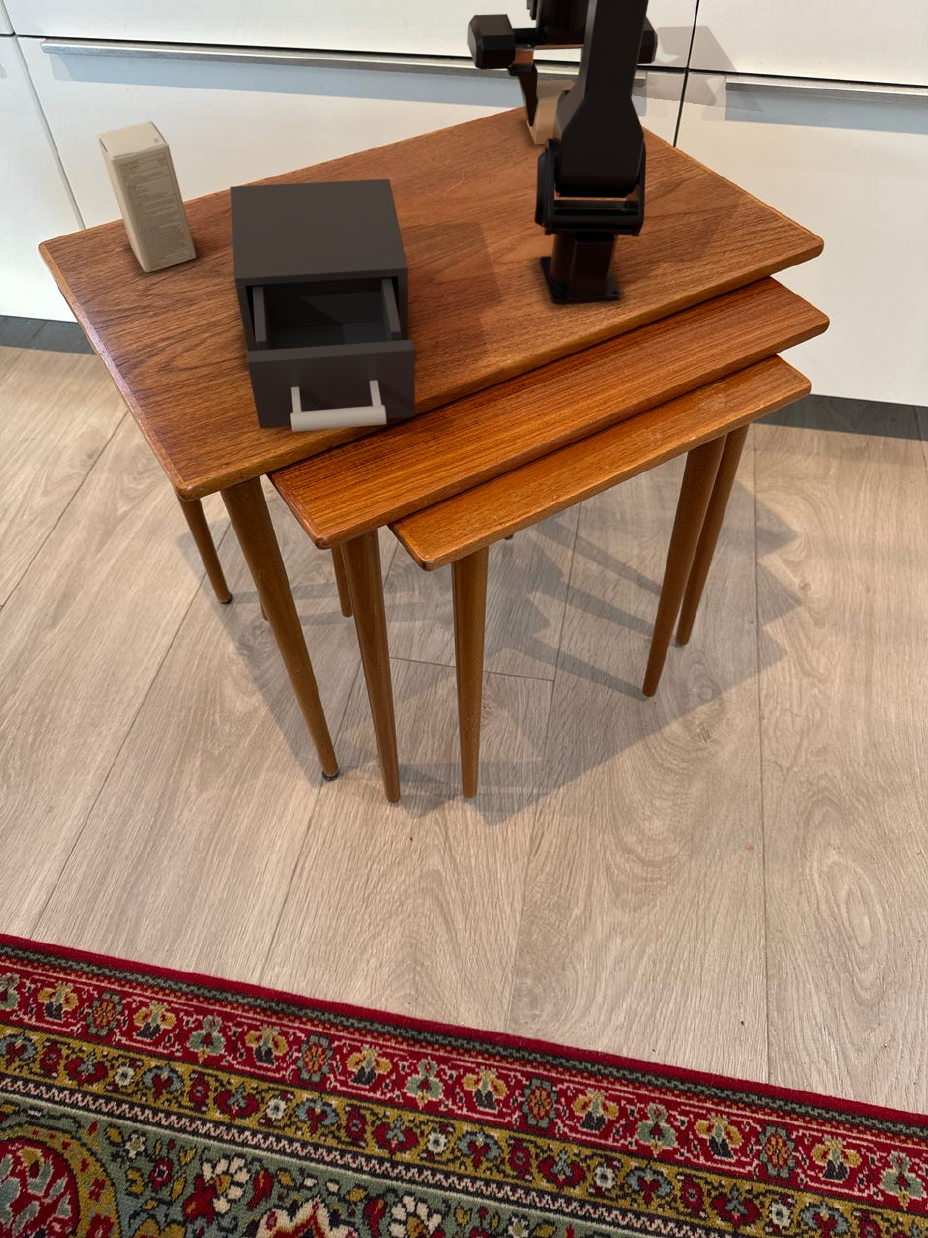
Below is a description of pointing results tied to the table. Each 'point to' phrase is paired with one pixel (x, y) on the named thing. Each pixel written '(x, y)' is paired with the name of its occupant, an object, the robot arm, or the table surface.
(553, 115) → the block
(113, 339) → the table surface
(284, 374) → the drawer
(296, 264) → the cabinet
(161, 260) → the box
